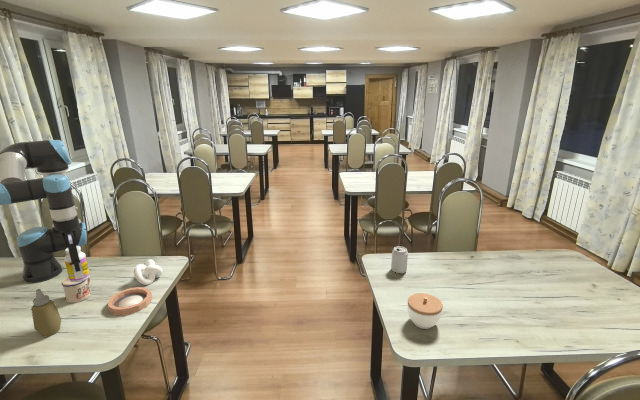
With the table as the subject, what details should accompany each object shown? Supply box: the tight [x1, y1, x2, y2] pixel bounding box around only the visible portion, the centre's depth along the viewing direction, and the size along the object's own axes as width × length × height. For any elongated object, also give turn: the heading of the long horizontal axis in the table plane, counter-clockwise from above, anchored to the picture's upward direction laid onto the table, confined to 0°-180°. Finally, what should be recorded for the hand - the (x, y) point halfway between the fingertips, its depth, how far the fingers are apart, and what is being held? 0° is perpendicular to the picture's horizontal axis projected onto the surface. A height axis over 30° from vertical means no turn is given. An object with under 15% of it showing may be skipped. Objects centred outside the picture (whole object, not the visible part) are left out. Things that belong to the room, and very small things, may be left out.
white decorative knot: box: [133, 258, 164, 286], centre depth 162 cm, size 11×12×9 cm
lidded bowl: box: [407, 293, 443, 330], centre depth 131 cm, size 13×13×11 cm
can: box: [390, 245, 409, 274], centre depth 169 cm, size 8×8×12 cm
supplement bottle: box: [63, 246, 91, 282], centre depth 131 cm, size 7×7×13 cm
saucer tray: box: [107, 286, 153, 316], centre depth 146 cm, size 16×16×3 cm
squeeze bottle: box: [31, 288, 62, 337], centre depth 127 cm, size 8×8×18 cm
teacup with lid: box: [61, 276, 91, 304], centre depth 150 cm, size 12×9×12 cm
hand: (79, 273), depth 132 cm, fingers closed on supplement bottle, 7 cm apart
